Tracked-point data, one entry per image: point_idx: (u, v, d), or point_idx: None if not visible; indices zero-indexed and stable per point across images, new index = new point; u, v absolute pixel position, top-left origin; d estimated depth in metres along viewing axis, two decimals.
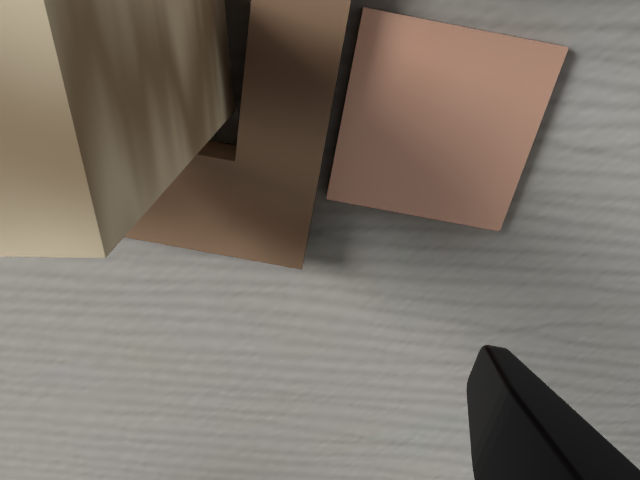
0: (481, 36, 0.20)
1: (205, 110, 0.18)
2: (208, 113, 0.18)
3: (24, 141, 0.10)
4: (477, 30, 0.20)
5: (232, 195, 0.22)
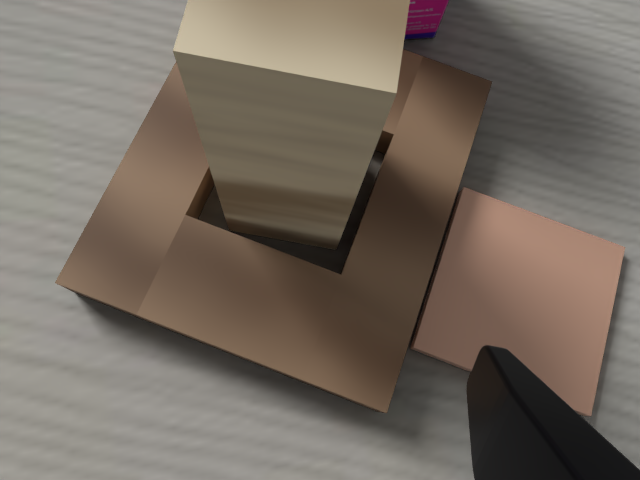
0: (556, 225, 0.24)
1: None
2: None
3: None
4: (552, 221, 0.24)
5: (328, 310, 0.21)
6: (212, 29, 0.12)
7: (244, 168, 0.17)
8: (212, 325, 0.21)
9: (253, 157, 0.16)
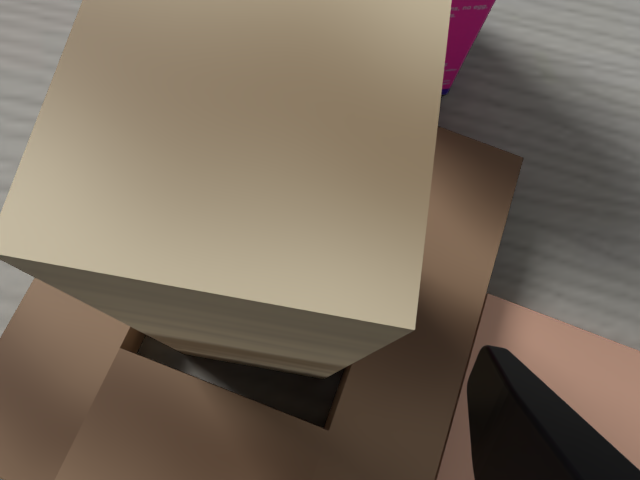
0: (607, 344, 0.19)
1: None
2: None
3: (357, 125, 0.07)
4: (602, 338, 0.19)
5: None
6: (66, 205, 0.06)
7: (179, 333, 0.11)
8: None
9: (188, 330, 0.10)
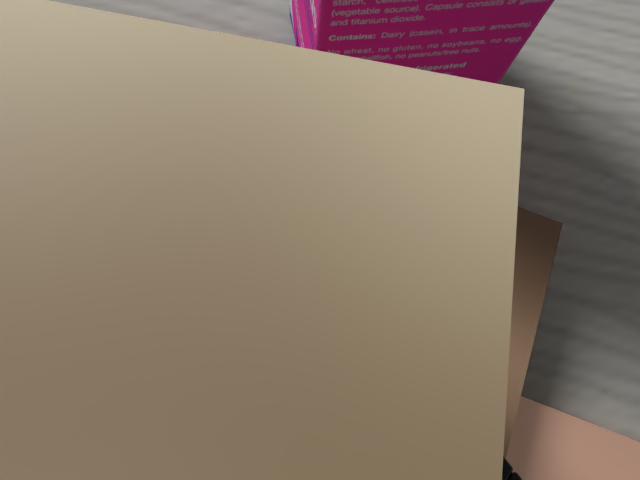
0: None
1: None
2: None
3: (312, 447, 0.03)
4: None
5: None
6: None
7: None
8: None
9: None
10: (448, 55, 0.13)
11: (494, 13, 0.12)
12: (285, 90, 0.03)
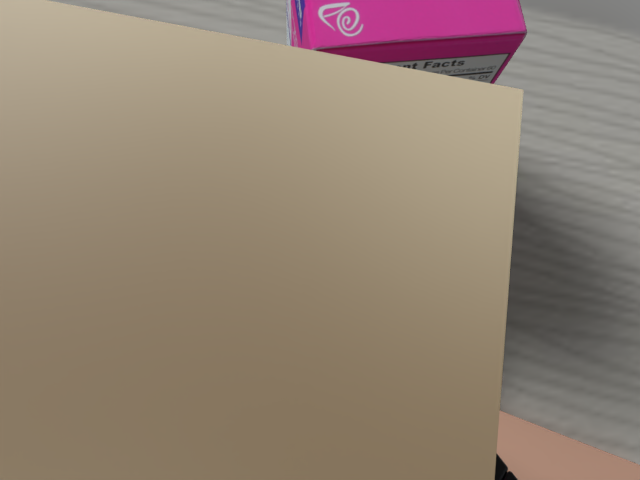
0: (563, 440, 0.21)
1: None
2: None
3: (307, 437, 0.03)
4: (558, 434, 0.21)
5: None
6: None
7: None
8: None
9: None
10: None
11: None
12: (287, 90, 0.04)
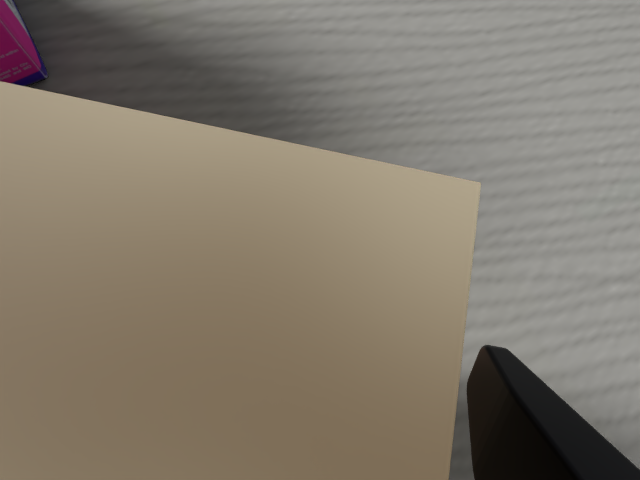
0: None
1: None
2: None
3: (320, 442, 0.04)
4: None
5: None
6: None
7: None
8: None
9: None
10: None
11: None
12: (305, 182, 0.05)
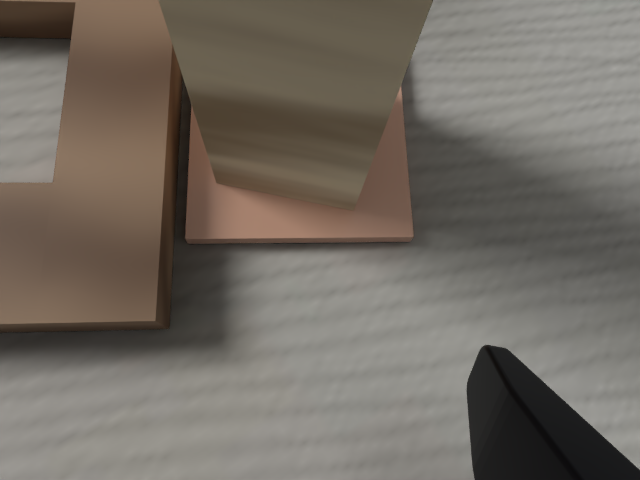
0: None
1: None
2: None
3: None
4: None
5: (48, 229, 0.16)
6: None
7: (228, 65, 0.12)
8: None
9: (240, 39, 0.11)
10: None
11: None
12: None
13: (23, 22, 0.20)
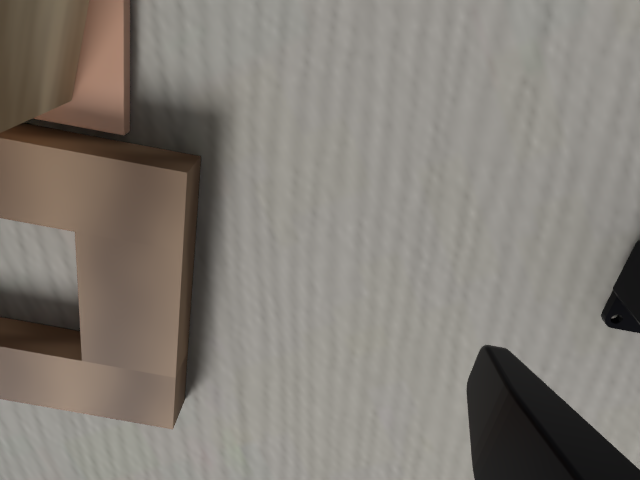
0: None
1: None
2: None
3: None
4: None
5: (113, 237, 0.22)
6: None
7: None
8: (163, 326, 0.23)
9: None
10: None
11: None
12: None
13: None
